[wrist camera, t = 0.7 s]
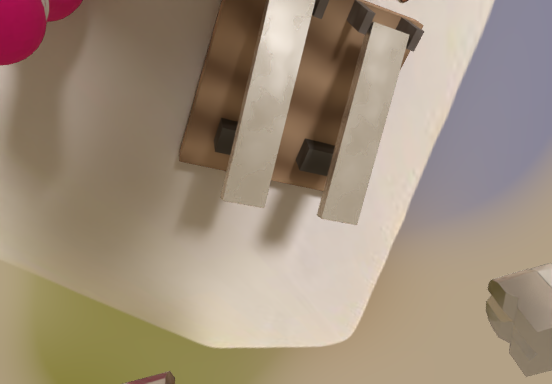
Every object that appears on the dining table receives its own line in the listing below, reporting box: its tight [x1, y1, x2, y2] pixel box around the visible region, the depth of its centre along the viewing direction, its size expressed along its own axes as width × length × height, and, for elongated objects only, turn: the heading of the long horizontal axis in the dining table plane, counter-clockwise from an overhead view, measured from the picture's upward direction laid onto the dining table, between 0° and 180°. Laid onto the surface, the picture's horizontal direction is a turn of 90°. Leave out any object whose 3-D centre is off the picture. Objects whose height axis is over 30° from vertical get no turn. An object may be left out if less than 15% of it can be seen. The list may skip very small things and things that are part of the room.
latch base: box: [179, 0, 424, 191], centre depth 48 cm, size 22×20×6 cm
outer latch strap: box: [317, 22, 409, 225], centre depth 44 cm, size 19×4×1 cm, turn 161°
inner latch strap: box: [220, 0, 315, 208], centre depth 41 cm, size 19×4×1 cm, turn 161°
